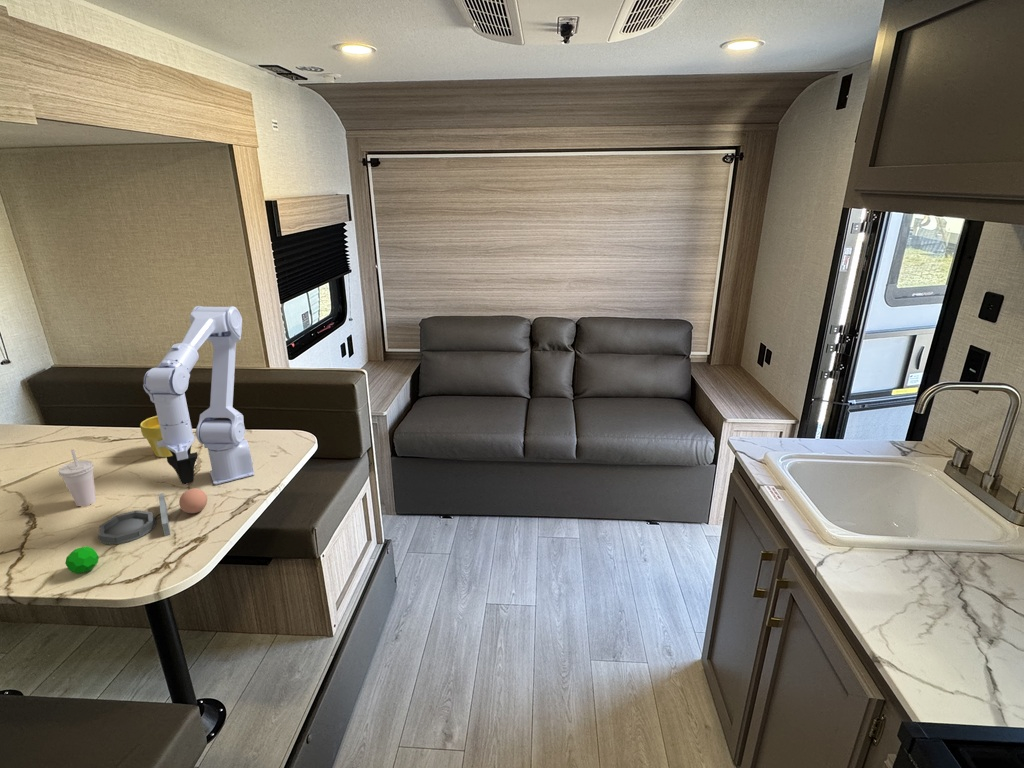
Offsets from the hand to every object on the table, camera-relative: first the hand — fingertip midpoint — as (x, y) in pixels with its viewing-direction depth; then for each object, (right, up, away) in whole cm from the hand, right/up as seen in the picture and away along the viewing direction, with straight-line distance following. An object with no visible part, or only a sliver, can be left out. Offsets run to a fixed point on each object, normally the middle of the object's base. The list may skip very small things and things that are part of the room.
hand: (186, 475), depth 120 cm
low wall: (-5, -10, 0) cm, 11 cm away
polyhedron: (-10, -16, -16) cm, 25 cm away
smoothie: (-27, -8, +6) cm, 29 cm away
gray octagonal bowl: (-11, -11, -4) cm, 16 cm away
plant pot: (-23, +1, +30) cm, 38 cm away
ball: (0, -9, +3) cm, 10 cm away
